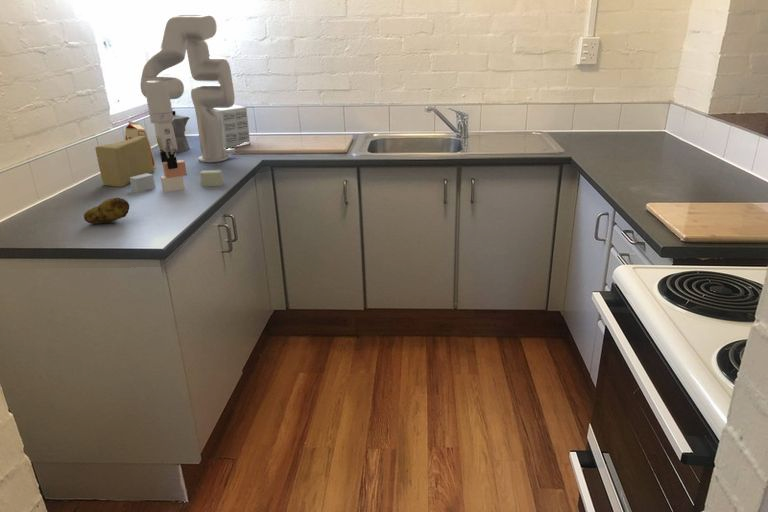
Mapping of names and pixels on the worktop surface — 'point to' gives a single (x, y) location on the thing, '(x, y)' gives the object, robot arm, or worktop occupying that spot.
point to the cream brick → (172, 183)
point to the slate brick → (142, 182)
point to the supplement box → (233, 125)
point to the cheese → (124, 161)
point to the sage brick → (211, 178)
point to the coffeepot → (180, 132)
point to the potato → (107, 211)
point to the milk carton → (135, 131)
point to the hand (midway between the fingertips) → (169, 165)
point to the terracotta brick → (177, 171)
